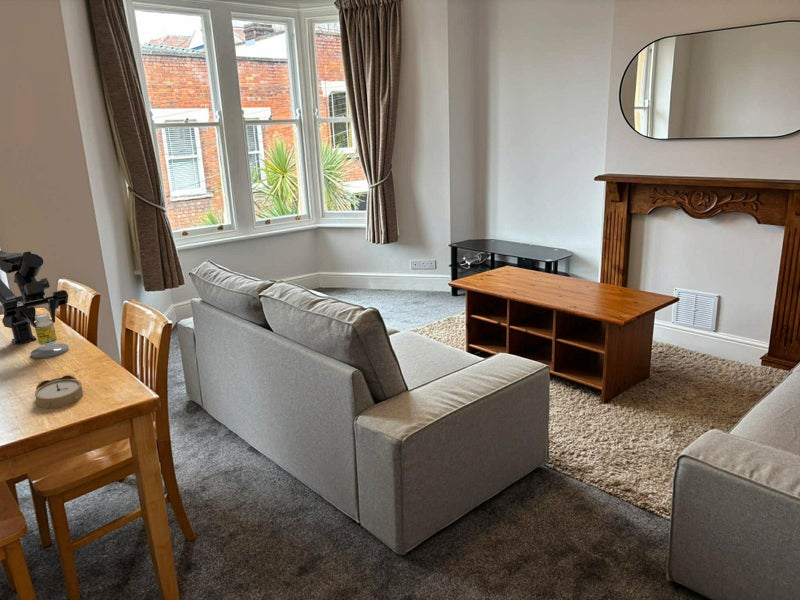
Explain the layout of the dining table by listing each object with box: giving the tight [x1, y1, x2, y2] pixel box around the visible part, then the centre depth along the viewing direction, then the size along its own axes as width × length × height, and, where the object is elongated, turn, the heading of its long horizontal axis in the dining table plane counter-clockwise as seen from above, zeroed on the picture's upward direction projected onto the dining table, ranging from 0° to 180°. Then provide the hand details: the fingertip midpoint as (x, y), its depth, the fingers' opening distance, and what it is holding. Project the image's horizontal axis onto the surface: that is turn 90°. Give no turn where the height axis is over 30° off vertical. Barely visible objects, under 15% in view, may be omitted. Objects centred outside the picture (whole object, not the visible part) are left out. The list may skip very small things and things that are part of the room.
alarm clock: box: [34, 374, 84, 410], centre depth 167 cm, size 11×5×15 cm
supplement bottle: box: [34, 312, 58, 346], centre depth 199 cm, size 5×5×10 cm
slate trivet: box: [30, 343, 70, 360], centre depth 201 cm, size 11×11×1 cm
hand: (44, 324), depth 197 cm, fingers closed on supplement bottle, 5 cm apart
